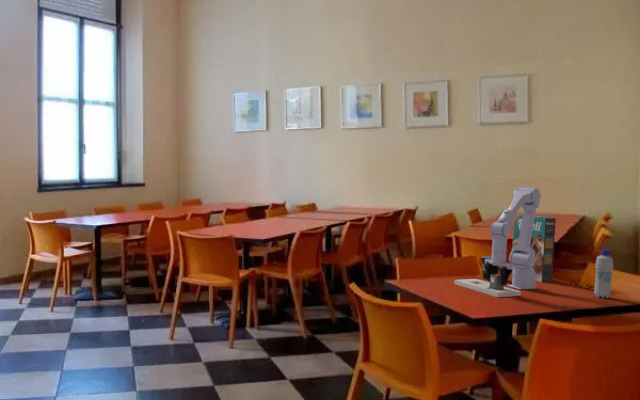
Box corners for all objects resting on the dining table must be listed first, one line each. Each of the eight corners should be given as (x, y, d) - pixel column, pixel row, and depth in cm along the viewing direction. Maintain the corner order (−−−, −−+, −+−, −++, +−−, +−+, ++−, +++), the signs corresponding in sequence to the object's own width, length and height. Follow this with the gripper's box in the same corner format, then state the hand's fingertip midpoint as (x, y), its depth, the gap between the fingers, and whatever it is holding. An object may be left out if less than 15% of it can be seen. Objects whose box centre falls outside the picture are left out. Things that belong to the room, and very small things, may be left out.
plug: (496, 291, 259) (497, 273, 259) (503, 293, 255) (504, 275, 255) (488, 292, 257) (489, 274, 257) (494, 294, 254) (495, 276, 253)
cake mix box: (510, 273, 308) (514, 213, 306) (520, 273, 310) (524, 214, 309) (541, 281, 288) (545, 218, 286) (551, 281, 290) (555, 218, 288)
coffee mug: (501, 280, 286) (502, 259, 286) (483, 279, 286) (484, 258, 286) (494, 276, 298) (496, 255, 297) (476, 275, 298) (478, 254, 297)
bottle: (609, 296, 259) (613, 249, 258) (611, 299, 252) (615, 251, 251) (592, 294, 261) (595, 248, 260) (594, 297, 255) (597, 249, 253)
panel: (476, 282, 278) (476, 278, 277) (520, 295, 252) (520, 290, 252) (454, 283, 272) (454, 279, 272) (497, 297, 247) (497, 292, 247)
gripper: (479, 248, 260) (478, 280, 261) (503, 253, 247) (501, 287, 248) (493, 248, 263) (491, 280, 264) (517, 253, 250) (515, 286, 251)
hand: (497, 283), depth 256 cm, fingers open, 7 cm apart
